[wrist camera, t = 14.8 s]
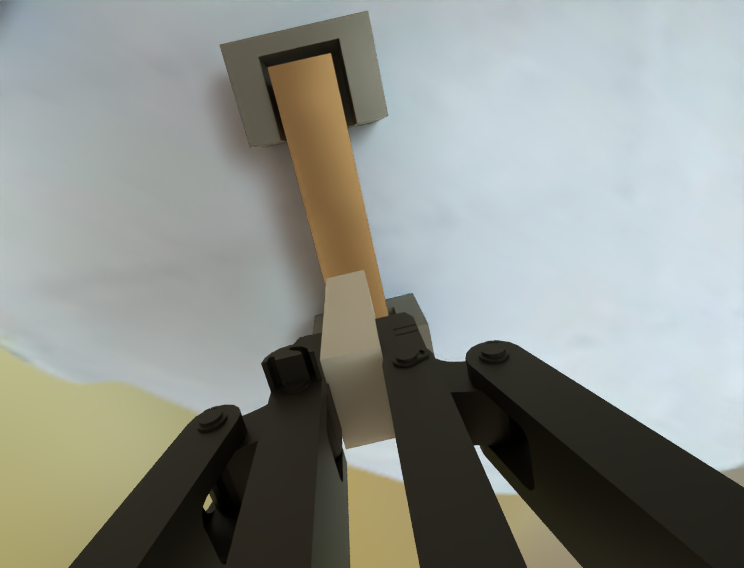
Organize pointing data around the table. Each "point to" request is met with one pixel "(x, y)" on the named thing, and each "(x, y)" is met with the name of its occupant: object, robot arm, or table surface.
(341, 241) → the slat
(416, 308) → the end caps
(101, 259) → the table surface
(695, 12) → the table surface
